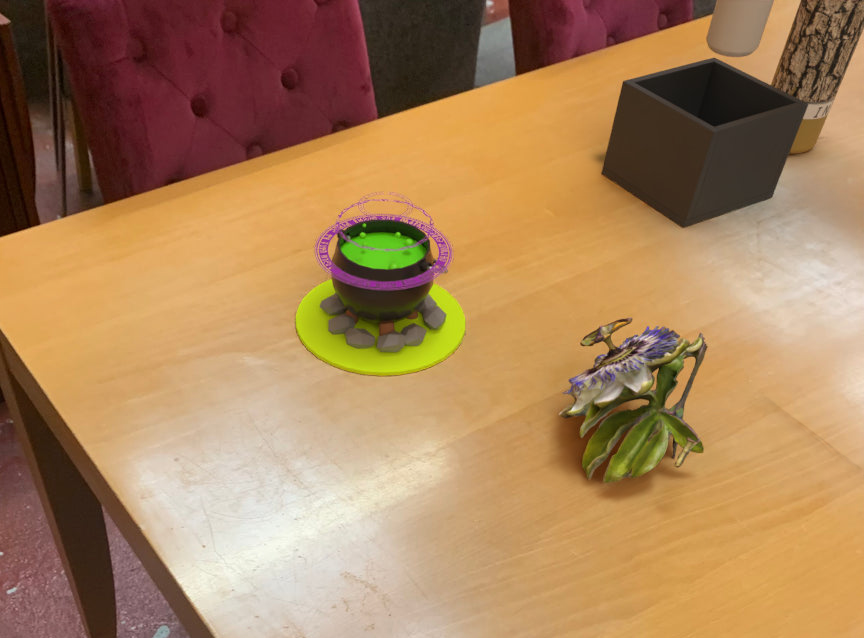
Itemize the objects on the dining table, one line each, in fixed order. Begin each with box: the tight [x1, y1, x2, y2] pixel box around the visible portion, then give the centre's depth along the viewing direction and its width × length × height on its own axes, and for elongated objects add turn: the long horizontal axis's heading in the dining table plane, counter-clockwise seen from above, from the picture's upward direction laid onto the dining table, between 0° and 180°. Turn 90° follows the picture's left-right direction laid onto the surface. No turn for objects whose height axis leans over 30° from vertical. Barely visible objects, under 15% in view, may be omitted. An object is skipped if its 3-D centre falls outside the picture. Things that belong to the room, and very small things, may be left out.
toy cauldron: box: [294, 191, 467, 377], centre depth 74 cm, size 15×15×11 cm
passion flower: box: [558, 316, 709, 485], centre depth 66 cm, size 11×11×12 cm
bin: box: [601, 57, 808, 228], centre depth 91 cm, size 13×13×10 cm
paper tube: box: [770, 0, 864, 155], centre depth 93 cm, size 7×7×25 cm
